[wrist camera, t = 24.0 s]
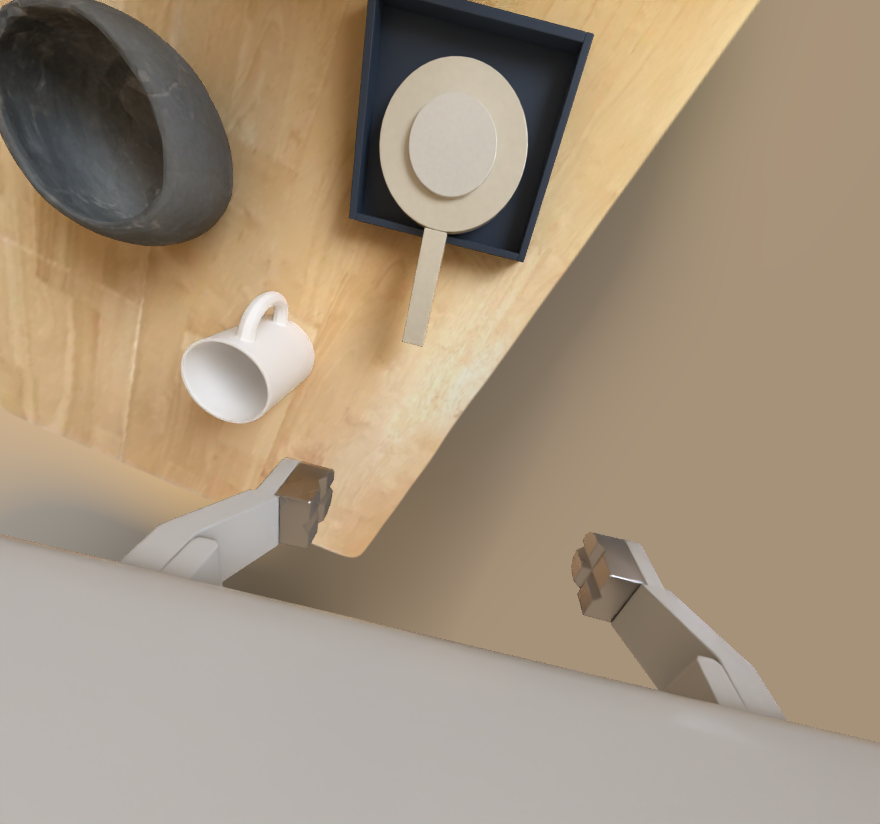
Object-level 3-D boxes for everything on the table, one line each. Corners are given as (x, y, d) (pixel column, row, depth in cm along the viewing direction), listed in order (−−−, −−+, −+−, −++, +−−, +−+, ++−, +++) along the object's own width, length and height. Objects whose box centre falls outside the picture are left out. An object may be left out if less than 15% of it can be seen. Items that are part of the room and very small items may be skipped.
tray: (584, 50, 27) (594, 33, 24) (520, 260, 34) (523, 262, 32) (379, -4, 27) (369, -26, 24) (357, 219, 34) (348, 218, 31)
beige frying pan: (545, 86, 28) (550, 72, 26) (473, 357, 34) (473, 360, 33) (397, 48, 27) (392, 31, 26) (354, 328, 34) (348, 329, 32)
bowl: (70, 67, 30) (-98, -2, 22) (223, 29, 28) (107, -64, 19) (152, 252, 37) (49, 258, 28) (282, 233, 35) (215, 233, 26)
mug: (260, 267, 37) (188, 278, 27) (334, 302, 37) (288, 324, 28) (242, 365, 42) (176, 401, 33) (307, 393, 43) (261, 437, 34)
